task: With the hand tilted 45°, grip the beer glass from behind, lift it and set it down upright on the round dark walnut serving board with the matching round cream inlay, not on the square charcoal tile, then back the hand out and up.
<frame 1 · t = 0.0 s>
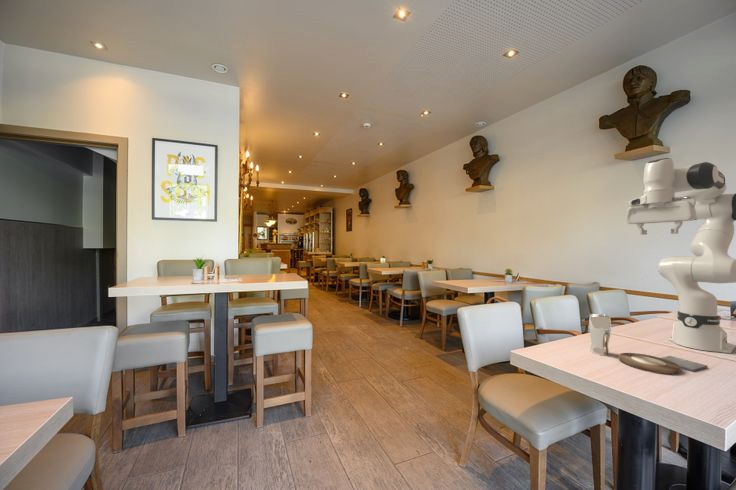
hand: (658, 234, 116), 48 cm above the table, tool pointing down, fingers open, 8 cm apart
square charcoal tile: (680, 364, 106), on the table
beer glass: (599, 353, 117), on the table
round walnut board: (648, 364, 105), on the table
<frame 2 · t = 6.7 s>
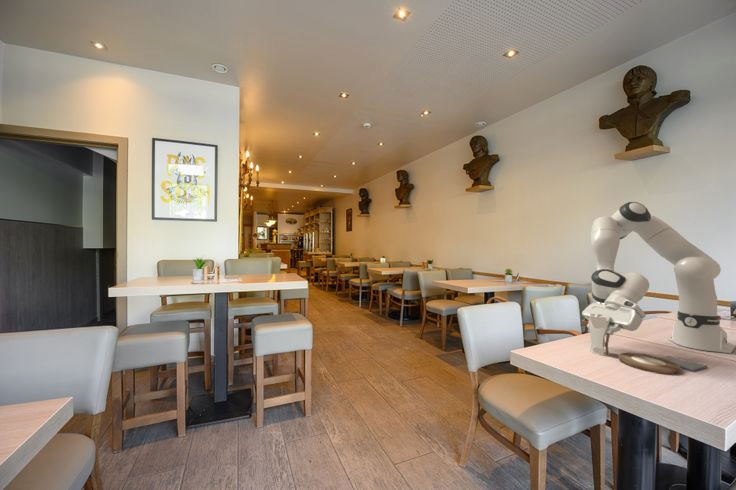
hand: (598, 330, 117), 9 cm above the table, tool tilted 45°, fingers closed on beer glass, 7 cm apart
beer glass: (599, 353, 117), on the table, touching gripper
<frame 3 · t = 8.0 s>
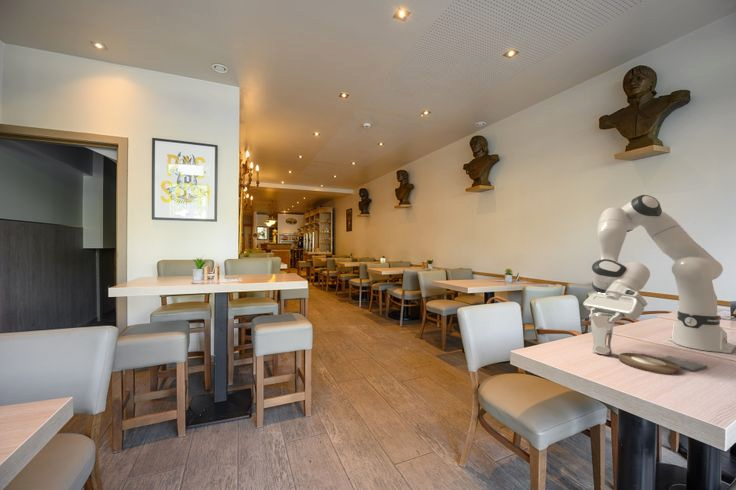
hand: (600, 320, 116), 13 cm above the table, tool tilted 45°, fingers closed on beer glass, 6 cm apart
beer glass: (602, 352, 116), on the table, touching gripper
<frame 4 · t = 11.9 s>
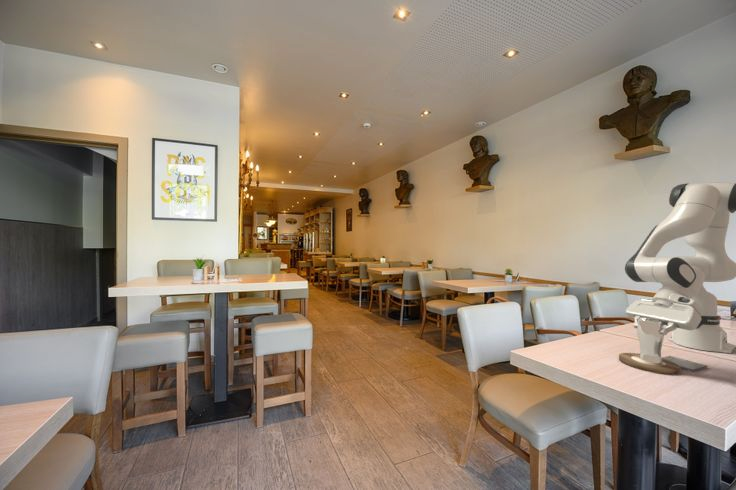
hand: (648, 330, 105), 13 cm above the table, tool tilted 45°, fingers closed on beer glass, 7 cm apart
beer glass: (650, 361, 104), point 1 cm above the table, touching gripper, round walnut board
when the fingers open (12 cm above the table, at t = 13.3 s): beer glass stays where it is, resting on round walnut board.
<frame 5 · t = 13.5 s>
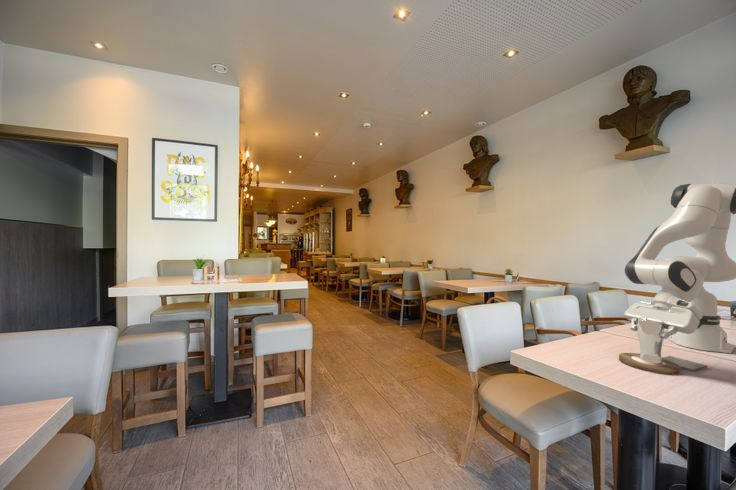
hand: (646, 333, 105), 11 cm above the table, tool tilted 45°, fingers open, 8 cm apart
beer glass: (650, 361, 104), point 1 cm above the table, touching gripper, round walnut board
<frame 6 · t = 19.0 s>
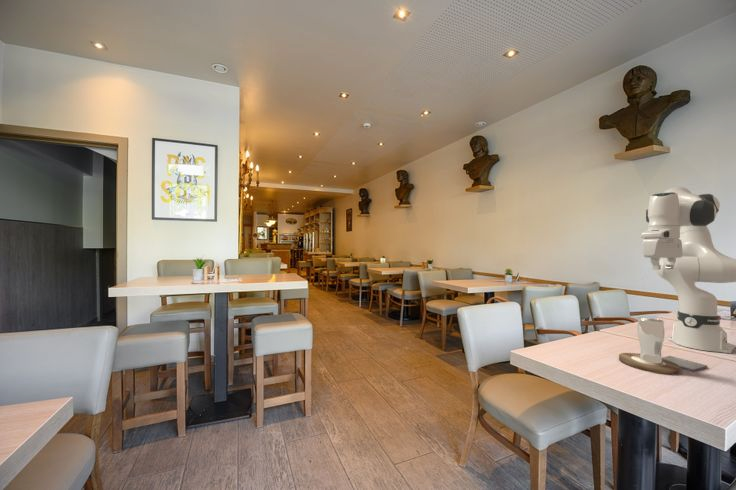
hand: (663, 269, 113), 34 cm above the table, tool pointing down, fingers open, 8 cm apart
beer glass: (650, 361, 104), point 1 cm above the table, touching round walnut board
at the end: beer glass inside the target area on the round walnut board (0.8 cm from its centre), point 1.4 cm above the round walnut board's base; beer glass tilted 0°; the gripper is holding nothing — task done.
